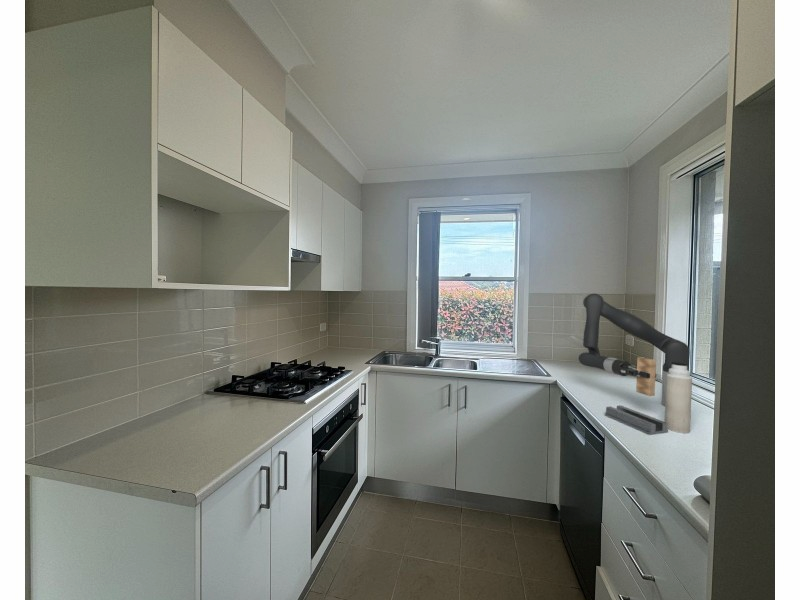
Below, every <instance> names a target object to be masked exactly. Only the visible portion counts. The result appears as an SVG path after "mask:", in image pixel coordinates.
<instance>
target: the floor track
mask: <svg viewBox="0 0 800 600" xmlns="http://www.w3.org/2000/svg"><path fill="white" fill-rule="evenodd" d="M604 416H605V417H608V418H610V419H612V420H614V421H616V422H618V423H621V424H624V425H625V426H628V427H630V428H632V429H634V430H637V431H639V432H641V433H644V434H646V435H648V436H651V435H660V434H667V433H669V429H667V423H666V422H665V420H661V419H658V418H656V417H653V416H650V415H647V414H646V413H642V412H639V411H638V410H635V409H632V408H629V407H626V406H624V405H622V404H621V405H620V404H619V405H616V408H615V407H613V406H612V405H611V406H606V407H605V413H604Z"/></svg>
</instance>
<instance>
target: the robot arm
mask: <svg viewBox="0 0 800 600" xmlns="http://www.w3.org/2000/svg"><path fill="white" fill-rule="evenodd" d="M582 305H583V306H584V308H585V311H586V312H585V313H586V318H585V326H584V331H583V338H582V339H583V341H582V345H583V348H585V349H587V351H588V352H581V353H580V354H579V355H578V361H579V363H580V364H581V365H583V366H586V367H590V368H595V369H600V370H603V371H606V372H608V373H612V374H613V375H614V374H615V375H618V376H621V377H627V376H633V377H637V376H639V377H640V376H641V377H645V378H650V373H646V372H642V371H639V370H637V366H635V365H631V363H630V361H628V360H623V359H620V358H615V357H609V356H605V355H601V353H600V348H599V338H600V337H599V334H600V319H601V317H603V318H605V319H606V320H607V321H609V322H611V323H612V324H613V325H615V326H616V327H618V328H620V329H621V330H623V331H624V332H627V334H630V335H632V336H634V337H636V338H637V339H640V340H642V341H644V342H647V343H649V344H651V345H652V346H654V347H655V348H657V349H658V350H660V351H661V352H662V353H664V362H663V365H662V374H661V376H662V377H661V380H662V382H661V401H660V402H661V405H662V406H664V407H665V399H666V374H668V373H669V372H668V371H669V369H670V368H672V363H671V362H673V361H676V362H684V363H687V370H688V371H689V367H690V366H689V365H690V355H691V354H690V348H689V346H688V345H687V343H686V342H684V341H681V340H679V339H676V338H674V337H671V336H669V335H666V334H664V333H662V332H661V331H659V330H658V329H656V328H654V327H653V326H652V325H651V324H649V323H648V322H647V321H645V320H643V319H641V318H639V317H638V316H636V315H634V314H632V313H630V312H628V311H625V310H623V309H620V308H617V307H615V306H613V305H611V304H609V303H608V302H606V301H605V300H604V298H603V297H602V296H601V295H600V294H598V293H590V294H588V295H586V296H585V297H584V298H583V301H582ZM656 378H657V373H656V374H655V379H656Z"/></svg>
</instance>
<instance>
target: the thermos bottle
mask: <svg viewBox="0 0 800 600" xmlns="http://www.w3.org/2000/svg"><path fill="white" fill-rule="evenodd" d="M671 363H672V368H670V369H669V371H668V372H669V373H668V374H666V399H665V406H664V408H665V409H664V422H666V423H667V430H668V431H669V430H670V431H672V432H675V433H680V434H689V432H690V433H691V420H692V419H691V416H692V415H691V413H692V409H691V407H692V393H693V391H692V389H693V388H692V387H693V377H692V376H691V372H690V370H689V369H688V370H687V363H684V362H676V361H673V362H671Z"/></svg>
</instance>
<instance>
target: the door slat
mask: <svg viewBox="0 0 800 600" xmlns="http://www.w3.org/2000/svg"><path fill="white" fill-rule="evenodd" d="M636 360H637V364H636V365H637V366H636V367H637V370H639V371H642V372H646V373H650V378H645V377H641V376H640V377H639V376H636V388H635V392H636V393H638V394H641V395H645V396H647V397H655V394H656V393H655V391H656V378H655V374H656V375H657V373H656V369H657V360H656V359H653V358H649V357H643V356H641V357H640V356H639V357H637V359H636Z"/></svg>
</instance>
